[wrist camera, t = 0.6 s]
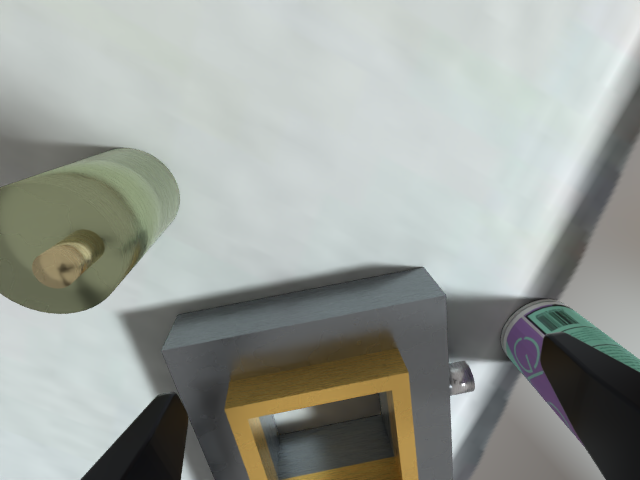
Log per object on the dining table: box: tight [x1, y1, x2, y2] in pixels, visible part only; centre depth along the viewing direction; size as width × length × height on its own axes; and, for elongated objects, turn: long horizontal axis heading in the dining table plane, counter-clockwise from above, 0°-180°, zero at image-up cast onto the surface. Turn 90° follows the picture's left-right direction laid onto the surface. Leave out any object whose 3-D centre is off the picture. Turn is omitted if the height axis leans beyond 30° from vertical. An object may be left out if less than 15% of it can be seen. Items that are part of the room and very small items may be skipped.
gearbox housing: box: [161, 267, 475, 480], centre depth 24 cm, size 18×16×6 cm
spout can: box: [0, 148, 180, 314], centre depth 16 cm, size 5×5×10 cm
